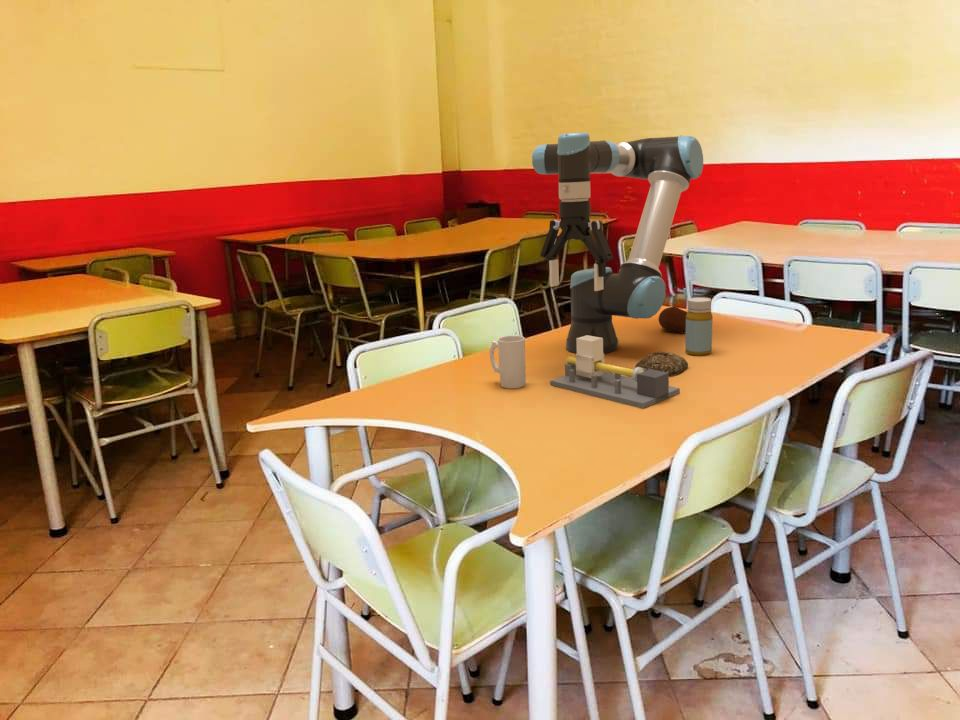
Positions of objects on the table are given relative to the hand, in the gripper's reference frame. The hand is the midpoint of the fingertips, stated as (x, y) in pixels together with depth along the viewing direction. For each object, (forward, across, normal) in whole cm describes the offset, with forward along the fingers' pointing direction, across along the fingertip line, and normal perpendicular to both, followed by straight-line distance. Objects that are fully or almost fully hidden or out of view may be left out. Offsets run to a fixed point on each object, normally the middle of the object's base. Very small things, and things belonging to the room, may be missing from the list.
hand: (576, 288), depth 184 cm
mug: (+23, -11, -14) cm, 30 cm away
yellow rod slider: (+23, +13, -3) cm, 26 cm away
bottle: (+23, +14, +37) cm, 46 cm away
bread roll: (+24, +13, +18) cm, 32 cm away
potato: (+23, -4, +56) cm, 60 cm away
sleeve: (+21, +6, -2) cm, 22 cm away
